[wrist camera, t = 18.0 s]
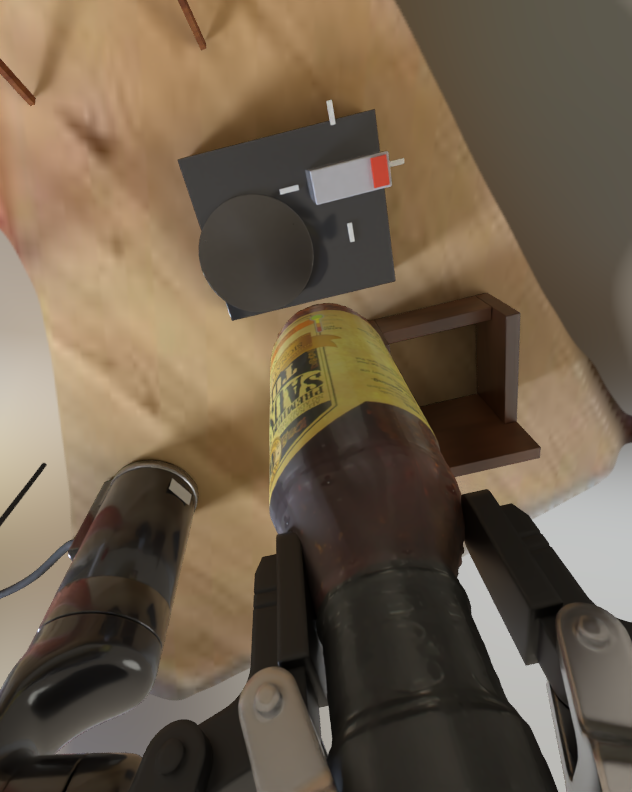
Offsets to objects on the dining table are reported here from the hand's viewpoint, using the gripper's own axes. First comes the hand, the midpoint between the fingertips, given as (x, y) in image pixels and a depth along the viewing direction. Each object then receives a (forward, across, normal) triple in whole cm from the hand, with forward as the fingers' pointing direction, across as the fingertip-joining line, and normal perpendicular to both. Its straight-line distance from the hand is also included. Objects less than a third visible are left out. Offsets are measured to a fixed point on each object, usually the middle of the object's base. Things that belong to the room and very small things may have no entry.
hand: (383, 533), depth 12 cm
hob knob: (+25, -4, -8) cm, 27 cm away
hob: (+28, 0, -6) cm, 29 cm away
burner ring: (+25, +4, -4) cm, 26 cm away
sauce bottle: (+14, 0, 0) cm, 14 cm away
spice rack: (+28, -10, +10) cm, 32 cm away
